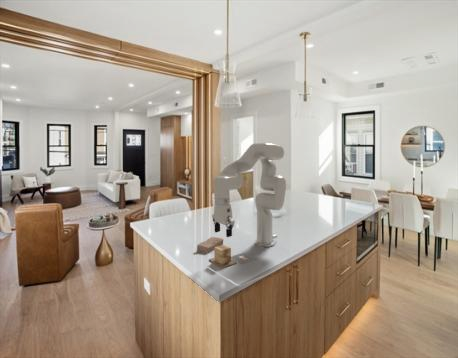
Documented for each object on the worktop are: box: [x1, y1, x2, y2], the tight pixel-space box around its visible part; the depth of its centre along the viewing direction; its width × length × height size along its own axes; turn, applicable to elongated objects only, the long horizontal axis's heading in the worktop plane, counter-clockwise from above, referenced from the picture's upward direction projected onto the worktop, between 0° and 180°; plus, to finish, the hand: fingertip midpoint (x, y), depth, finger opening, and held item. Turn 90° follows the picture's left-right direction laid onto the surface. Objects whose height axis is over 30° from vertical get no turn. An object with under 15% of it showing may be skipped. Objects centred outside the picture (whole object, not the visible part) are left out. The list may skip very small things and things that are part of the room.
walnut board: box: [208, 257, 238, 269], centre depth 131 cm, size 9×12×1 cm
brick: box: [196, 236, 224, 254], centre depth 152 cm, size 17×8×5 cm, turn 149°
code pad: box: [231, 251, 259, 265], centre depth 136 cm, size 11×11×1 cm
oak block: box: [213, 244, 232, 264], centre depth 131 cm, size 6×6×7 cm
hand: (223, 234), depth 130 cm, fingers open, 9 cm apart
